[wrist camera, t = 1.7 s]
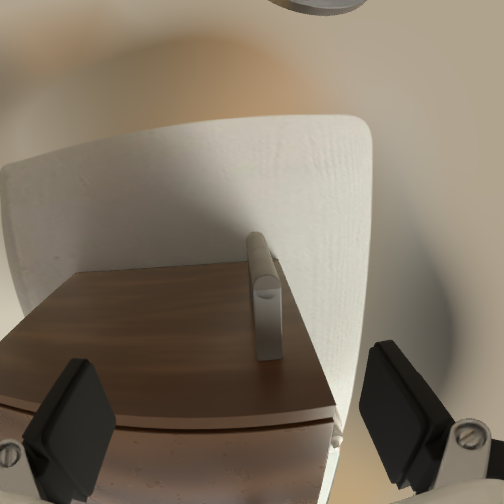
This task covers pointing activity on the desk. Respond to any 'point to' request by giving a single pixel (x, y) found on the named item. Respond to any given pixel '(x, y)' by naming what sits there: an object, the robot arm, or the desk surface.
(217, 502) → the cupboard
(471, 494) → the robot arm
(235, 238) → the desk surface
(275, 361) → the door
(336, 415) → the eye dropper bottle
